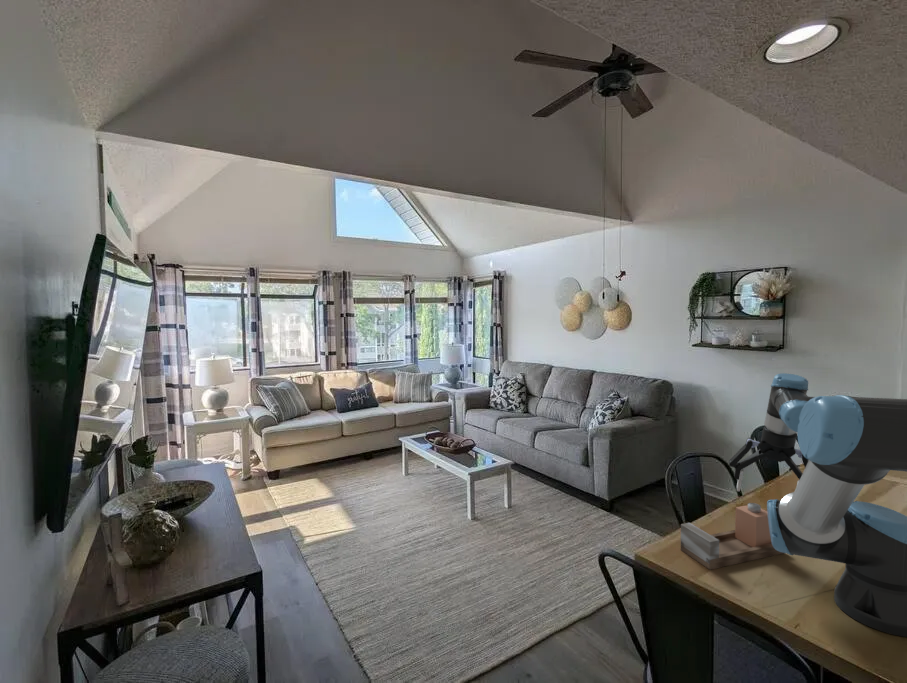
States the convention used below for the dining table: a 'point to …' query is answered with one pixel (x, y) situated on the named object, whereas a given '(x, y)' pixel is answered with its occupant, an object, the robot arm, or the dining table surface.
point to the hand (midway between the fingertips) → (766, 496)
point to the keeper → (752, 525)
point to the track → (720, 548)
